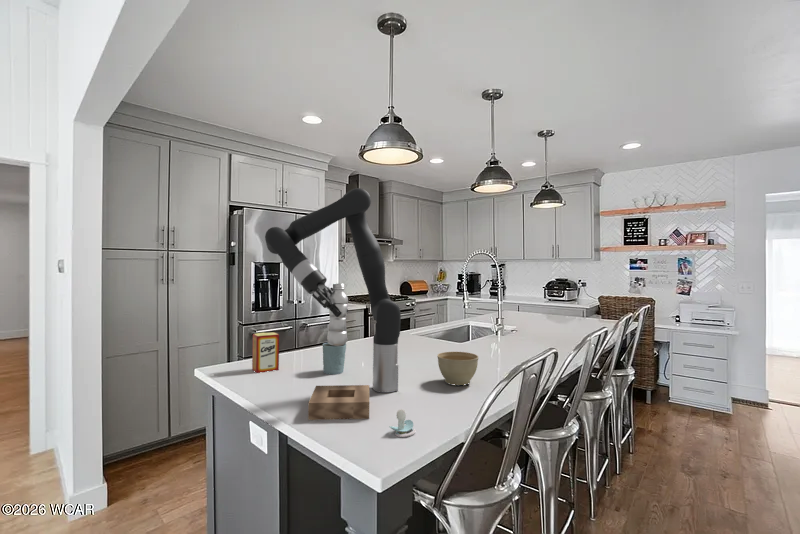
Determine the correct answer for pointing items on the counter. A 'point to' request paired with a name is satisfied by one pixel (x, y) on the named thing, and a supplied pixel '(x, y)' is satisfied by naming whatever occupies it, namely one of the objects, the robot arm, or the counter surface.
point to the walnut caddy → (339, 402)
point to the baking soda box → (265, 352)
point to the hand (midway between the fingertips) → (343, 313)
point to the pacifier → (401, 427)
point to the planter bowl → (457, 366)
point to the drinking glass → (333, 358)
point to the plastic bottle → (338, 324)
